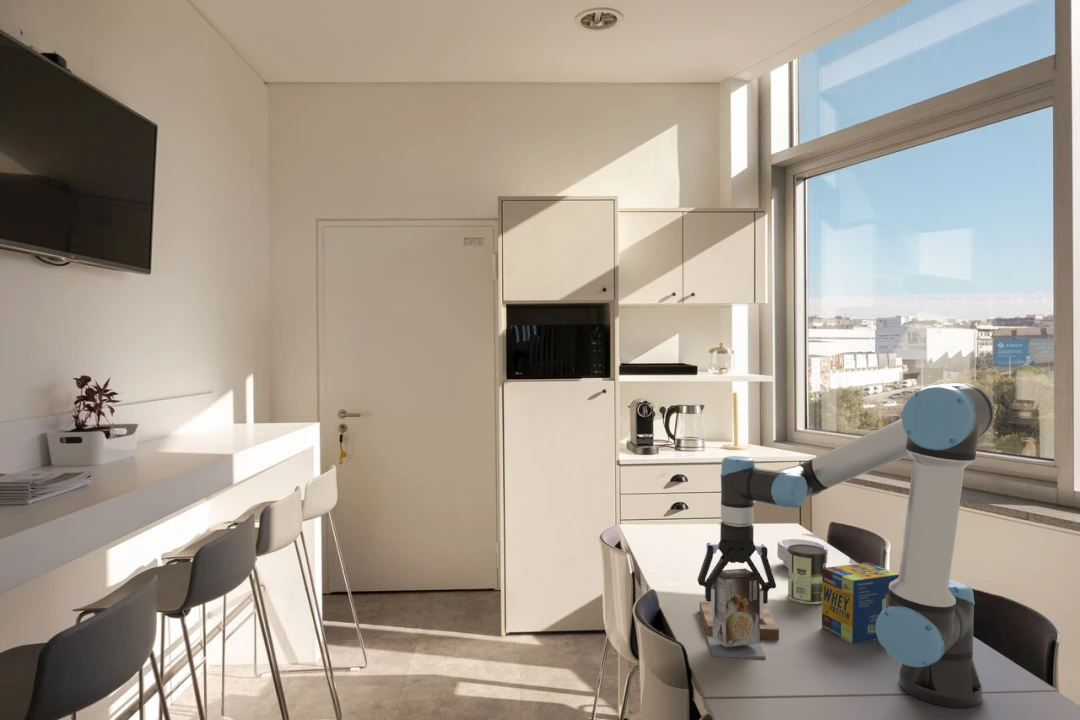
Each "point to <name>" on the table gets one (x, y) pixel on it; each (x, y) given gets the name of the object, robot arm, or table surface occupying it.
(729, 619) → the coffee box
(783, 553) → the paper bowls
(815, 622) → the table surface
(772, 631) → the pocket block
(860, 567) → the protein box
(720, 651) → the rubber mat
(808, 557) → the coffee can
